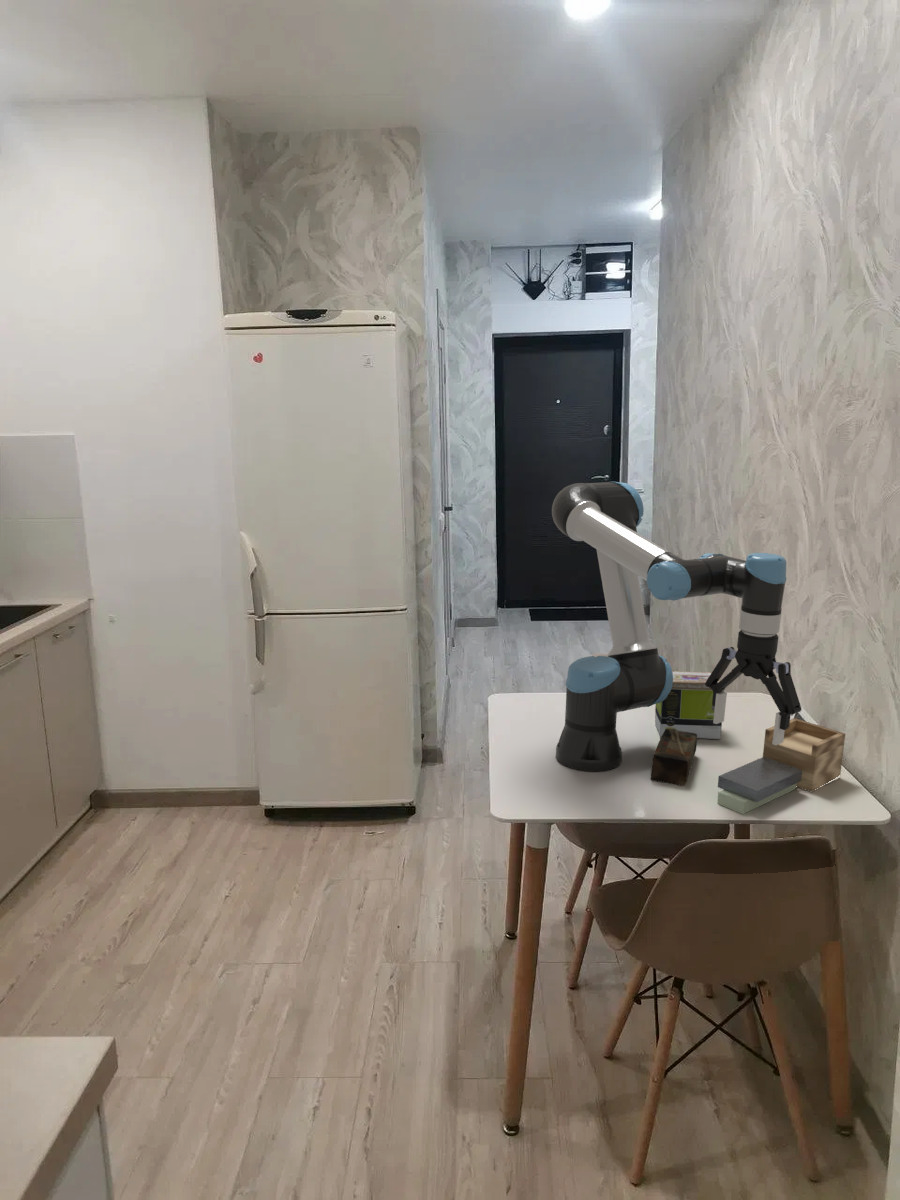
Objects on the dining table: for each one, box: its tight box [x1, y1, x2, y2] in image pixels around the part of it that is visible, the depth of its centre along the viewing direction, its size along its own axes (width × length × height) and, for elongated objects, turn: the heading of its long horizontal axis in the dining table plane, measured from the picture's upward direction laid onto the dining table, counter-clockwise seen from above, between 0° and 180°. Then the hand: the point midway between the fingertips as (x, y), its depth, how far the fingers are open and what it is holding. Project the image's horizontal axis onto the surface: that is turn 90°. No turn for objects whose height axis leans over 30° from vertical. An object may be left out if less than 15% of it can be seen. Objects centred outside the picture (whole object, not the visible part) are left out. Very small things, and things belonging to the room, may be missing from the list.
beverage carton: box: [650, 728, 698, 787], centre depth 194 cm, size 8×19×7 cm, turn 158°
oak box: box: [762, 717, 846, 792], centre depth 191 cm, size 12×12×10 cm
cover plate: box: [717, 756, 802, 802], centre depth 181 cm, size 17×9×2 cm, turn 129°
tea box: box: [654, 670, 725, 740], centre depth 216 cm, size 15×10×15 cm, turn 84°
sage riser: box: [717, 783, 797, 815], centre depth 181 cm, size 20×6×2 cm, turn 129°
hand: (747, 732), depth 175 cm, fingers open, 13 cm apart
